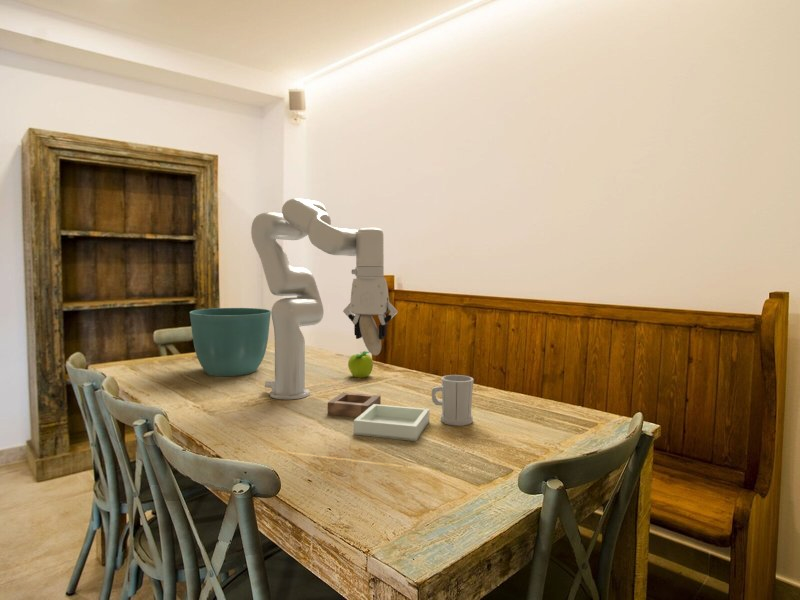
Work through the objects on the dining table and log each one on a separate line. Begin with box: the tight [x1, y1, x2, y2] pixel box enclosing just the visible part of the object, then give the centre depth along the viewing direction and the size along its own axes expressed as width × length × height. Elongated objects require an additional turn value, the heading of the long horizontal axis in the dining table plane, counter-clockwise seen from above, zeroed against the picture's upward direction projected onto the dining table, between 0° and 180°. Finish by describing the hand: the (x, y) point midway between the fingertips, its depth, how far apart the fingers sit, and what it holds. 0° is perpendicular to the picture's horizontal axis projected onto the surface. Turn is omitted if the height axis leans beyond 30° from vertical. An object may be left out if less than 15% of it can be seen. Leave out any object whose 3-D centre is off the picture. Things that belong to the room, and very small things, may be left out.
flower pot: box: [189, 307, 272, 377], centre depth 196 cm, size 30×30×24 cm
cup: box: [431, 374, 475, 427], centre depth 137 cm, size 10×9×12 cm
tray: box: [353, 404, 430, 442], centre depth 131 cm, size 16×16×4 cm
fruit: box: [347, 350, 374, 379], centre depth 190 cm, size 9×9×10 cm
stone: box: [359, 315, 382, 356], centre depth 139 cm, size 6×6×12 cm
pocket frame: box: [327, 392, 382, 418], centre depth 146 cm, size 12×12×4 cm
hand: (370, 337), depth 139 cm, fingers closed on stone, 6 cm apart
